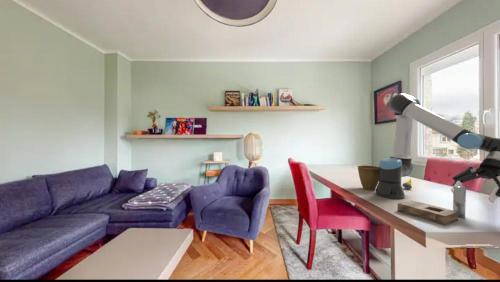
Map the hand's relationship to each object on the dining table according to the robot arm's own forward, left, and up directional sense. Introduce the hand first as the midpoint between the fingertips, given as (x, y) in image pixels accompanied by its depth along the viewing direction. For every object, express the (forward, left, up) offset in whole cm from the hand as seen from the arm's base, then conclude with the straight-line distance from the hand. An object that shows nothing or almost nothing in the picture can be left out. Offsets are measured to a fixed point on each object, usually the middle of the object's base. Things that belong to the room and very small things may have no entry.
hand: (470, 196), depth 92 cm
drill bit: (-41, +32, -10) cm, 53 cm away
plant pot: (-52, +5, -10) cm, 53 cm away
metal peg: (-2, -4, -10) cm, 11 cm away
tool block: (-9, -17, -10) cm, 22 cm away
